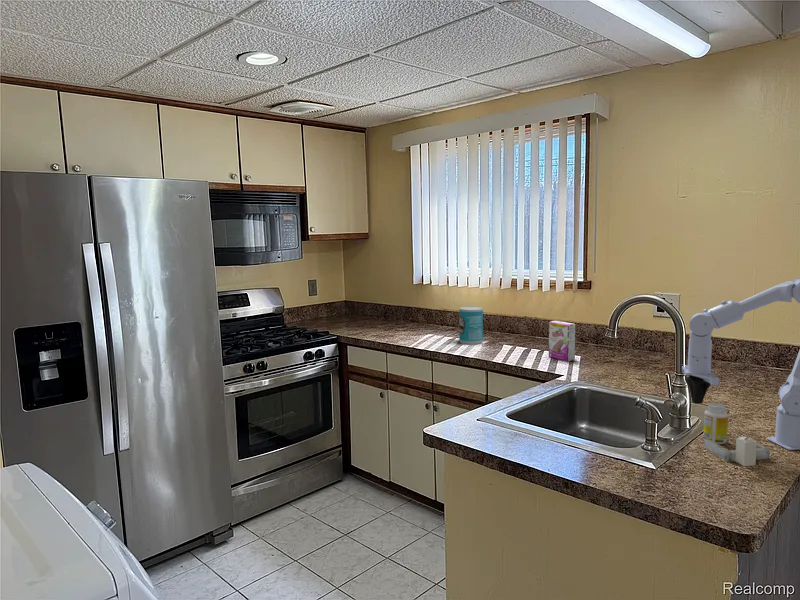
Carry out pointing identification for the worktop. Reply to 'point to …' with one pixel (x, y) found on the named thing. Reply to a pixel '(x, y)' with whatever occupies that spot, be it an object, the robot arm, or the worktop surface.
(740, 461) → the block
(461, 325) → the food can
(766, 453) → the scale bay
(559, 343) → the candy bar box
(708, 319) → the robot arm
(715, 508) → the worktop surface
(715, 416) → the supplement bottle
